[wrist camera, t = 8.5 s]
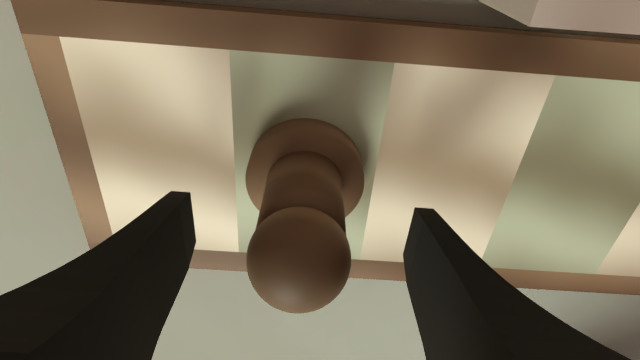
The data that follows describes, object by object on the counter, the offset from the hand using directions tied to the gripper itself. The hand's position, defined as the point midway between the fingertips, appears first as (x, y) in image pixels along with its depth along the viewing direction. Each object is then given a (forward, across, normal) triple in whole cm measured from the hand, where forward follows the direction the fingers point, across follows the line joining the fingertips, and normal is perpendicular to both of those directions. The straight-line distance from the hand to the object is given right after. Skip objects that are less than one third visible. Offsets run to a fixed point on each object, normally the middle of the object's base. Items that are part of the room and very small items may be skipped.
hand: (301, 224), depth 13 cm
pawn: (+3, 0, 0) cm, 3 cm away
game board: (+4, -6, 0) cm, 7 cm away
